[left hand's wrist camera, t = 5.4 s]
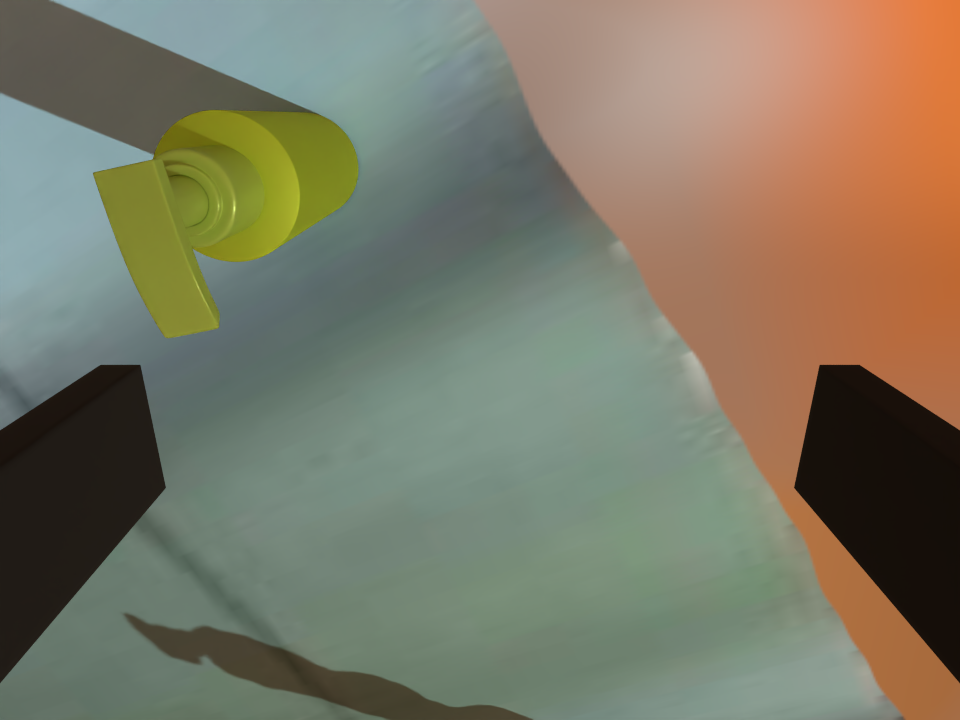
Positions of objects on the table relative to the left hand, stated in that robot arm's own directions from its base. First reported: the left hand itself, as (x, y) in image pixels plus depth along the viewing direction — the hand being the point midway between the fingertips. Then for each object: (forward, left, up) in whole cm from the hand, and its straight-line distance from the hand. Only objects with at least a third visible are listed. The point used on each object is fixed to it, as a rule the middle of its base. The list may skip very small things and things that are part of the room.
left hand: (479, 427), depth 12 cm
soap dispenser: (-5, -9, -28) cm, 30 cm away
